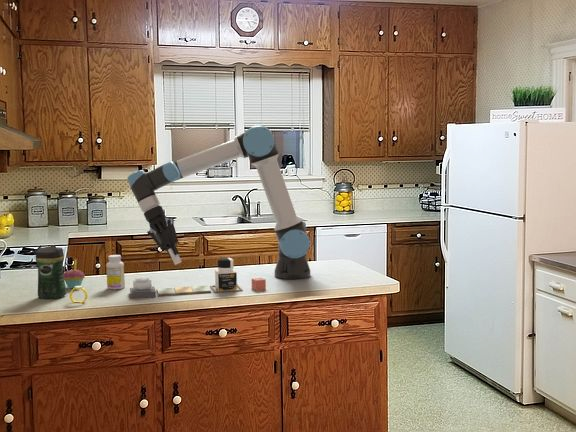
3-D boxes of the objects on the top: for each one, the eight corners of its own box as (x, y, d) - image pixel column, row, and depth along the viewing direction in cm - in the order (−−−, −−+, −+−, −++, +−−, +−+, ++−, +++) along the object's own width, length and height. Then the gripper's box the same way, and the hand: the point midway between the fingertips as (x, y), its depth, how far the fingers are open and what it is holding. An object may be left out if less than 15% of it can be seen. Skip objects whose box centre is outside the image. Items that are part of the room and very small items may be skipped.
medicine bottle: (218, 291, 252) (217, 260, 251) (215, 287, 259) (214, 257, 257) (237, 290, 254) (236, 259, 253) (233, 286, 261) (232, 256, 259)
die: (260, 287, 258) (260, 277, 258) (265, 289, 255) (265, 279, 254) (251, 288, 256) (251, 278, 256) (256, 290, 253) (256, 280, 252)
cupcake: (89, 286, 262) (88, 256, 261) (72, 290, 255) (71, 260, 254) (74, 284, 267) (73, 254, 265) (57, 288, 260) (56, 258, 258)
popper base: (154, 291, 253) (154, 285, 253) (155, 296, 244) (155, 290, 244) (130, 293, 251) (129, 287, 250) (130, 298, 242) (130, 292, 242)
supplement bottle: (115, 285, 264) (114, 253, 262) (128, 287, 261) (127, 254, 259) (103, 289, 258) (102, 256, 256) (116, 290, 255) (115, 257, 253)
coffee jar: (69, 294, 249) (67, 245, 247) (59, 299, 241) (57, 249, 239) (44, 294, 250) (42, 245, 248) (34, 299, 242) (31, 248, 240)
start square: (237, 285, 263) (237, 284, 263) (242, 290, 253) (242, 289, 253) (210, 286, 260) (210, 285, 260) (214, 292, 250) (214, 291, 250)
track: (207, 287, 260) (207, 285, 259) (211, 292, 250) (211, 290, 250) (156, 290, 254) (156, 288, 254) (158, 296, 245) (158, 294, 245)
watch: (88, 302, 238) (88, 286, 237) (85, 304, 235) (86, 287, 235) (71, 301, 238) (72, 285, 238) (68, 303, 236) (69, 286, 235)
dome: (151, 285, 251) (150, 276, 251) (152, 289, 245) (151, 280, 244) (133, 286, 249) (132, 277, 249) (133, 290, 243) (133, 281, 243)
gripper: (169, 200, 259) (195, 254, 258) (146, 213, 265) (172, 267, 264) (157, 203, 252) (184, 259, 251) (134, 217, 258) (161, 272, 258)
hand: (178, 263), depth 258 cm, fingers closed
